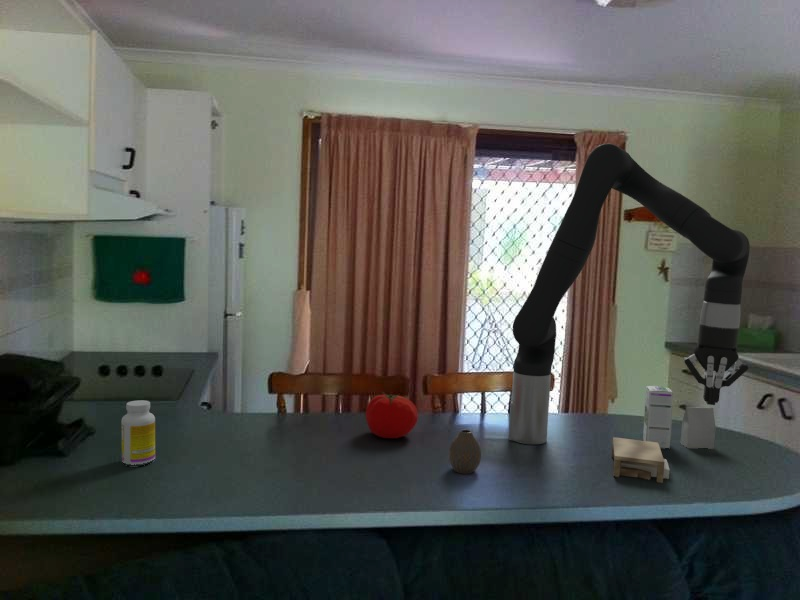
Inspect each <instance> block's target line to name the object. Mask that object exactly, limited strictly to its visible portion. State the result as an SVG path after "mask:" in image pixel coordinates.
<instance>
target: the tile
mask: <svg viewBox="0 0 800 600" xmlns="http://www.w3.org/2000/svg"><path fill="white" fill-rule="evenodd" d="M663 459H664V462H665V463H664V475H663V479H667V480H669V479H670V467H669V466H670V465H669V463H668V460H667V459H666V458H663ZM621 467H629V468H636V469H641V470H644V471H648V472H651V477H653V478H656V477H657V465H655V464H647V463H639V462H631V461H623V460H621Z"/></svg>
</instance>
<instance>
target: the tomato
mask: <svg viewBox="0 0 800 600" xmlns="http://www.w3.org/2000/svg"><path fill="white" fill-rule="evenodd" d="M381 393H382V394H378V395H376V396H374V397H373V398H372V399H371V400H370V401H369V403H368V405H367V407H366V411H365V419H366V423H367V426H368V428H369V431H370V432H371V433H373V435H376V436H377V437H380V438H383V439H394V438H395V439H398V438H401V437H404V436H406V435H408V434H409V433H411V431H412V430H413V429H414V428H415V426H416V424H417V423H418V420H419V415H418V410H417V407H416V405H415V404H414V403H413V401H411V400H410V399H408V398H406V397H404V396H401V395H400V394H396V395H393V394H386V393H385V392H383V391H381Z"/></svg>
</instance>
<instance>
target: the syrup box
mask: <svg viewBox="0 0 800 600" xmlns="http://www.w3.org/2000/svg"><path fill="white" fill-rule="evenodd" d="M673 399H674V392H673V391H672V390H671V388H669V387H668V386H660V385H646V387H645V399H644V400H645V402H644V413H643V414H644V417H643V433H642V441H649V442H658V444H659V447H660V449H665V448H669V449H670V447H671V435H672V420H673V419H672V417H673V401H674V400H673Z"/></svg>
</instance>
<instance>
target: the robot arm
mask: <svg viewBox="0 0 800 600" xmlns="http://www.w3.org/2000/svg"><path fill="white" fill-rule="evenodd" d="M612 189H613V190H615V191H617V192H619V193H621V194H623V195H626V196H628V197H629V198H631V199H633V200H634V201H636V202H638V203H639V204H641V205H642V206H643V207H644V208H645V209H646V210H648V211H649V212H650V213H651V214H652V215H654V217H656V218H657V219H658V220H660V221H661V222H662V223H664V225H665V226H667V227H669V228H670V229H672V230H673V231H675V233H677V234H678V235H680V236H682V237H684V238H685V239H687V240H689V241H690V242H691V243H692V244H693V245H694V246H695V247H696V248H698V250H700V251H701V252H702V253H703V254H704V255H706V256H707V257H709V258H710V259H712V263H711V269H710V270H711V271H710V274H709V275H708V276H707V277H706V280H705V284H704V285H705V286H704V294H703V303H702V307H701V311H700V317H699V326H698V327H699V328H698V335H697V336H698V338H697V346H696V347H695V348H694V351H693V354H691V355H689V356H686V357H685V356H684V357H683V358H682V361H683V363H684V365H685V366H686V367H687V368H688V370H689V371H690V372H691V374H692V376H693V377H694V379H695V380H696V381H697V383H699V384H702V385H704V386H703V387H704V388H703V401H705V402H706V404H707V405H710V406H715V405H716V404H718V402H719V401H720V394H721V392H720V391H721V389H722V388H724V387H728V388H729V387H731V386H732V385H733V383H735V382H736V381H737V380H739V378H740V377H742V375H744V374H745V373H746V372H747V371H748V370H749V365H747V364H746V363H744V362H743V361H742V360H740V359H739V357H740V356H739V353H738V351H737V350H738V342H739V340H738V339H739V332H740V326H741V325H740V324H741V304H742V293H743V281H744V276H745V273H746V270H747V266H748V261H749V257H750V251H751V250H750V241H749V238H748V236H746V234H745V233H743V232H742V231H740V230H737V229H732V228H730V227H728V226H727V225H725V224H724V223H722V222H721V221H719V220H717V219H716V218H714V217H713V216H712V215H711V214H710V213H709V212H708V211H707V210H706V209H705V208H703V207H702V206H700V205H699V204H698V203H695V202H694V201H692V200H691V199H689V197H686V196H685V195H683V194H682V193H680V192H679V191H676V190H675V189H673V188H671V187H669V186H667V185H665V184H664V183H662V182H661V181H659V180H657V178H655V177H653V176H652V175H651V174H650V173H648V172H647V171H646V170H645V169H644V167H642V166H641V165H640V164H639V163H638V162H637V161H636V160H635V159H634V158H632V157H631V155H630V154H629V153H628V152H627V151H626V150H625V149H623V148H621V147H620V146H618V145H616V144H614V143H603V144H599V145H598V146H596V147H595V148H593V150H592V151H591V152H590V153H589V154H588V156H587V158H586V160H585V162H584V166H583V168H582V172H581V173H580V177H579V180H578V183H577V186H576V189H575V191H574V194H573V197H572V199H571V201H570V203H569V205H568V207H567V209H566V211H565V214H564V216H563V218H562V220H561V222H560V225H559V227H558V228H557V231H556V233H555V235H554V236H553V238H552V241H551V244H550V245H549V248H548V250H547V253H546V255H545V257H544V260H543V261H542V264H541V266H540V269H539V272H538V273H537V277H536V279H535V282H534V284H533V286H532V289H531V291H530V293H529V294H528V296H527V298H526V300H525V301H524V303H523V305H522V306H521V308H520V310H519V311H518V313H517V315H516V316H515V317H514V321H513V323H512V335H513V337H514V339H515V341H516V343H518V351H517V354H516V357H515V359H514V361H513V370H512V371H513V372H512V391H511V402H510V406H509V421H508V424H509V425H508V438H507V440H508V441H513V442H516V443H519V444H524V445H525V444H526V445H542V444H545V443H546V442H547V439H548V426H549V423H548V422H549V410H550V395H551V379H552V378H551V377H552V375H551V373H552V367H553V362H554V359H555V351H556V349H555V348H556V340H557V339H556V338H557V323H556V319H555V317H554V316H555V315H556V311H557V309H558V306H559V305H560V302H561V300H562V299H563V298H564V296H565V294H566V293H567V292H568V290H570V288H571V286H573V283H574V282H575V281H576V279H577V278H578V277H579V275H580V274H581V272H582V271H583V268H584V267H585V265H586V263H587V261H588V259H589V256H590V255H591V252H592V251H593V247H594V244H595V242H596V237H597V232H598V226H599V220H600V216H601V215H600V214H601V210H602V208H603V206H604V203H605V201H606V199H607V197H608V195H609V194H610V192H611V190H612ZM696 360H697V361H698V363H699V364H700V366H701V368H702V369H704V371H703V372H704V377H703V376H702V375H701V374H700V372H699V371H698V369H697V368H696V367H695V366H697V361H696ZM732 366H733V370H732V371H731V372H730V373H729V374H727V375H726V377H725V373H726V372H727V371H728V370H729V369H730V368H731V367H732Z"/></svg>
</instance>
